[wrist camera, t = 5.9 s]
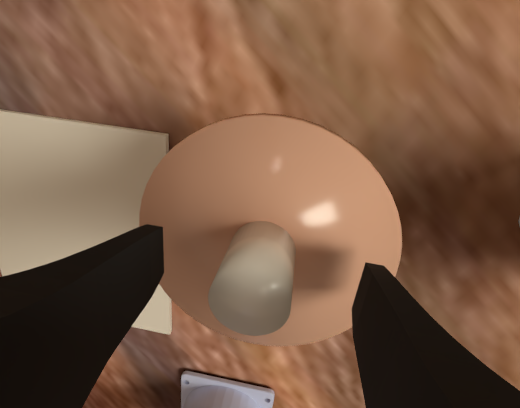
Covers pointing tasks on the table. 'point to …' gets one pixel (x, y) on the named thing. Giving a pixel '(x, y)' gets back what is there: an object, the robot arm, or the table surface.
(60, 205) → the mat
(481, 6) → the table surface
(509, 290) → the table surface
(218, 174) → the lid
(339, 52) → the table surface
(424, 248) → the table surface
